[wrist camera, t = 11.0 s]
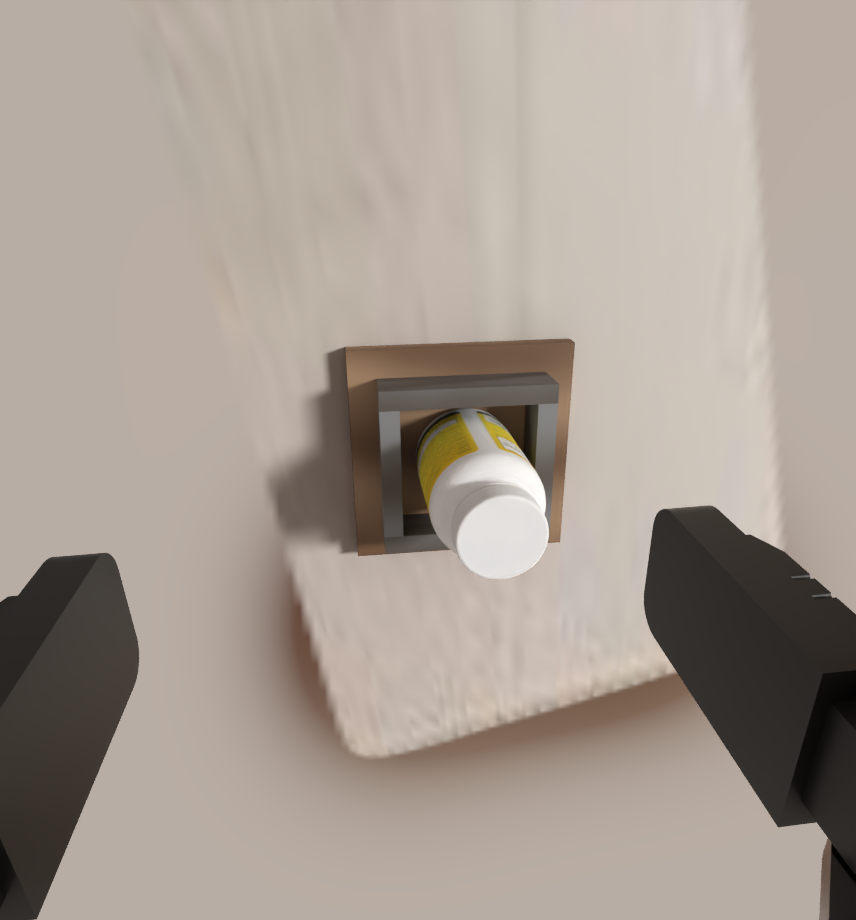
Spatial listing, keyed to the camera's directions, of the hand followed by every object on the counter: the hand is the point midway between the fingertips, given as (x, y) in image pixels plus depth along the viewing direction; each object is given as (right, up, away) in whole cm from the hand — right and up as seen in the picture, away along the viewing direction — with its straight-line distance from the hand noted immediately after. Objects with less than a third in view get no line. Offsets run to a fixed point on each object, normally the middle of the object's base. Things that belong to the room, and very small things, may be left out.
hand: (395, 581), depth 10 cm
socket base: (+2, +3, +27) cm, 27 cm away
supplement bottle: (+2, +2, +26) cm, 26 cm away
